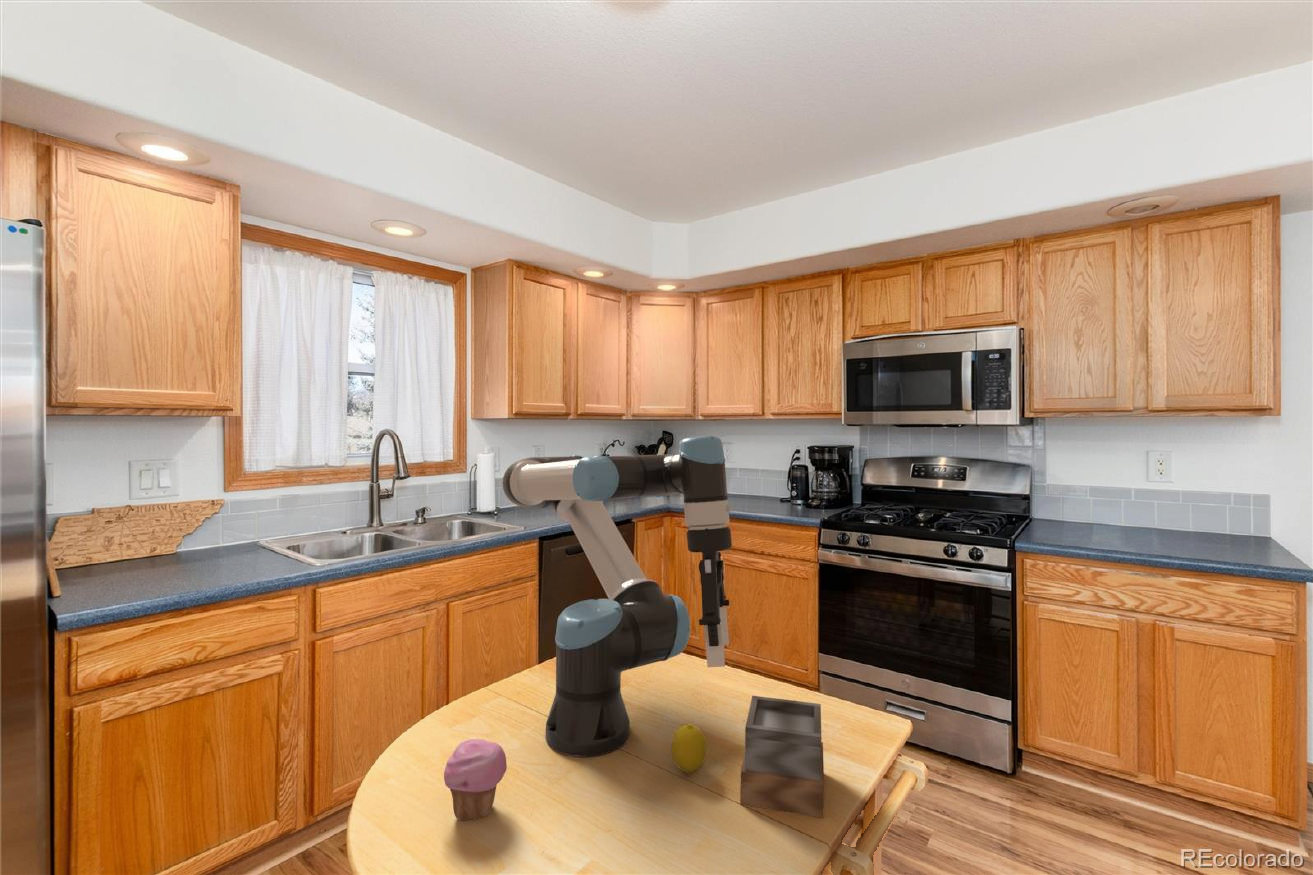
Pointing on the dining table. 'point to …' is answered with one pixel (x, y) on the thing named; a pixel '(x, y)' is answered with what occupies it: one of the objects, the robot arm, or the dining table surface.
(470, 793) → the cupcake
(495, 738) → the dining table surface
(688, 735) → the lemon
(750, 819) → the dining table surface
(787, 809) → the grey storage bin
